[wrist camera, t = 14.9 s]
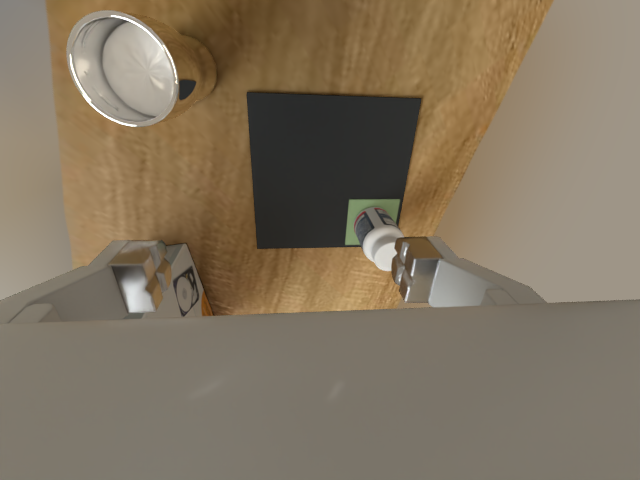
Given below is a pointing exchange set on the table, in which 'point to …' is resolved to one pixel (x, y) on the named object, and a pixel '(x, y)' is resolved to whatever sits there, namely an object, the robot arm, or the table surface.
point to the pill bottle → (377, 236)
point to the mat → (326, 164)
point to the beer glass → (137, 67)
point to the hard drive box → (180, 289)
